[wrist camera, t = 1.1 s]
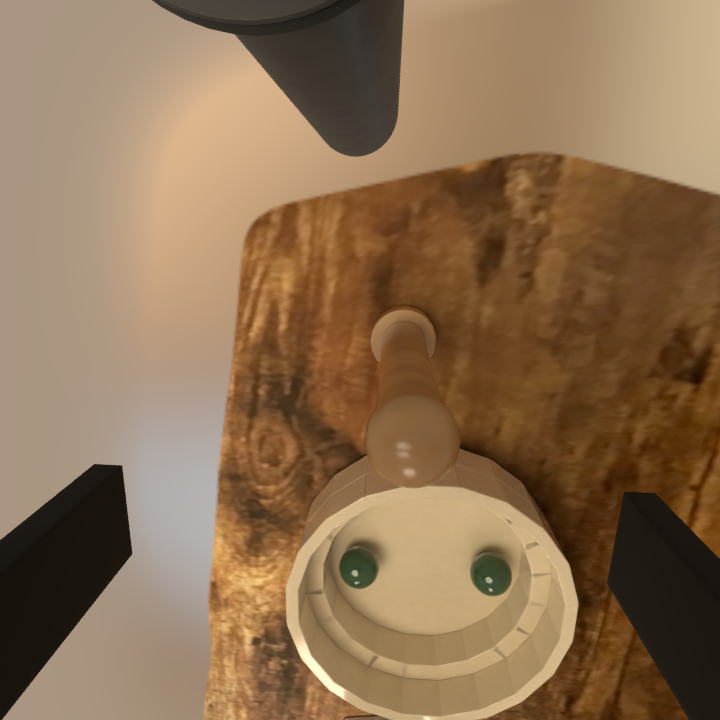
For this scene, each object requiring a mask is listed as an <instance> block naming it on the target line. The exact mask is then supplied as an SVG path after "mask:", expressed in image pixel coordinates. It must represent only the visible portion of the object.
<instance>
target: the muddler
mask: <svg viewBox="0 0 720 720" xmlns="http://www.w3.org/2000/svg"><path fill="white" fill-rule="evenodd" d="M370 342H371V349H372V352H373V355H374V357H375V358H376V360H377V361H378V362H379V363H380V369H379V380H378V392H377V404H376V409H375V411H374V412H373V413H372V415H371V417H370V418H369V421H368V423H367V426H366V431H365V448H366V452H367V455H368V458H369V460H370V462H371V464H372V466H373V467H374V469H375V470H376V471H377V472H378V473H379V474H380V475H381V476H382V477H383V478H384V479H386V480H387V481H389V482H391V483H393V484H395V485H397V486H400V487H404V488H422V487H426V486H429V485H432V484H434V483H436V482H438V481H439V480H441V479H442V478H443V477H444V476H446V475H447V474H448V472H449V471H450V470H451V469H452V467H453V466H454V464H455V462H456V460H457V457H458V454H459V449H460V433H459V428H458V424H457V422H456V420H455V418H454V416H453V415H452V413H451V411H450V410H449V409H448V408H447V407H446V406H445V405H444V404H443V403H442V400H441V397H440V393H439V389H438V386H437V382H436V378H435V375H434V371H433V368H432V364H431V360H430V359H431V357H432V355H433V353H434V351H435V347H436V335H435V331H434V328H433V326H432V324H431V321H430V320H429V318H428V317H427V316H426V315H425V314H424V313H423V312H422V311H420V310H419V309H417V308H414V307H411V306H405V305H402V306H395V307H392V308H389V309H387V310H386V311H384V312H383V313H382V314H381V315H380V316H379V317H378V318H377V320H376V321H375V323H374V325H373V328H372V333H371V341H370Z"/></svg>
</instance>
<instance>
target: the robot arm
mask: <svg viewBox="0 0 720 720" xmlns="http://www.w3.org/2000/svg"><path fill="white" fill-rule="evenodd" d="M131 555H132V547H131V539H130V530H129V521H128V514H127V504H126V495H125V488H124V478H123V470H122V466H120V465H100V464H94V465H93V466H91V467H90V468H89V469H88V470H87V471H85V472H84V473H83V474H82V475H81V476H79V477H78V478H77V479H75V480H74V481H73V482H72V483H71V484H69V485H68V486H67V487H65V488H64V489H63V490H62V491H61V492H59V493H58V494H57V495H56V496H54V497H53V498H52V499H51V500H49V501H48V502H47V503H46V504H44V505H43V506H42V507H41V508H40V509H38V510H37V511H36V512H35V513H33V514H32V515H31V516H30V517H28V518H27V519H26V520H25V521H23V522H22V523H21V524H20V525H18V526H17V527H16V528H15V529H13V530H12V531H11V532H10V533H9V534H7V535H6V536H5V537H4V538H2V539H1V540H0V720H2V719H3V717H4V716H5V715H6V714H7V712H8V711H9V710H10V709H11V707H12V706H13V705H14V704H15V702H16V701H17V700H18V699H19V697H20V696H21V695H22V693H23V692H24V691H25V690H26V688H27V687H28V686H29V685H30V683H31V682H32V681H33V679H34V678H35V677H36V676H37V674H38V673H39V672H40V671H41V669H42V668H43V667H44V665H45V664H46V663H47V662H48V660H49V659H50V658H51V657H52V655H53V654H54V653H55V651H56V650H57V649H58V648H59V646H60V645H61V644H62V642H63V641H64V640H65V639H66V637H67V636H68V635H69V634H70V632H71V631H72V630H73V629H74V627H75V626H76V625H77V623H78V622H79V621H80V620H81V618H82V617H83V616H84V614H85V613H86V612H87V611H88V610H89V608H90V607H91V606H92V604H93V603H94V602H95V601H96V599H97V598H98V597H99V595H100V594H101V593H102V592H103V590H104V589H105V588H106V586H107V585H108V584H109V583H110V582H111V580H112V579H113V578H114V576H115V575H116V574H117V572H118V571H119V570H120V569H121V567H122V566H123V565H124V564H125V562H126V561H127V560H128V559H129V557H130V556H131ZM607 584H608V585H609V587H610V589H611V590H612V592H613V594H614V595H615V597H616V599H617V600H618V602H619V604H620V605H621V607H622V609H623V610H624V612H625V614H626V615H627V617H628V619H629V620H630V622H631V624H632V625H633V627H634V629H635V630H636V632H637V634H638V635H639V637H640V639H641V640H642V642H643V644H644V645H645V647H646V649H647V650H648V652H649V654H650V655H651V657H652V659H653V660H654V662H655V664H656V665H657V667H658V669H659V670H660V672H661V674H662V675H663V677H664V679H665V680H666V682H667V684H668V685H669V687H670V689H671V690H672V692H673V694H674V695H675V697H676V699H677V700H678V702H679V704H680V705H681V707H682V709H683V710H684V712H685V714H686V715H687V717H688V719H689V720H720V559H719V558H718V557H717V556H716V555H715V554H714V553H713V552H712V551H711V550H710V549H709V548H708V547H707V546H706V545H705V544H704V543H703V542H702V541H701V540H700V539H699V538H698V537H697V536H696V534H695V533H694V532H693V531H692V530H691V529H690V528H689V527H688V526H687V525H686V524H685V523H684V522H683V521H682V520H681V519H680V518H679V517H678V516H677V515H676V514H675V513H674V512H673V511H672V510H671V509H670V508H669V507H668V506H667V505H666V504H665V503H664V502H663V501H662V500H661V499H660V498H659V497H658V496H657V495H656V494H655V493H638V492H624V496H623V501H622V506H621V512H620V517H619V522H618V528H617V533H616V539H615V544H614V549H613V555H612V560H611V565H610V571H609V576H608V581H607Z"/></svg>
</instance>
